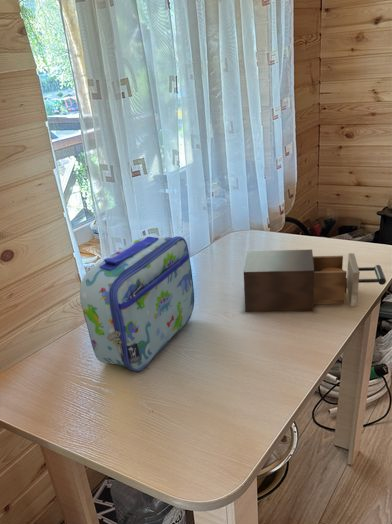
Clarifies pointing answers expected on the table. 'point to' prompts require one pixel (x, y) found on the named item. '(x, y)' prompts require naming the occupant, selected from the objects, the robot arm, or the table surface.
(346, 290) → the orange-brown stepped cylinder
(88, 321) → the lunch box
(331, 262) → the drawer
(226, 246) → the table surface
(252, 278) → the cabinet
